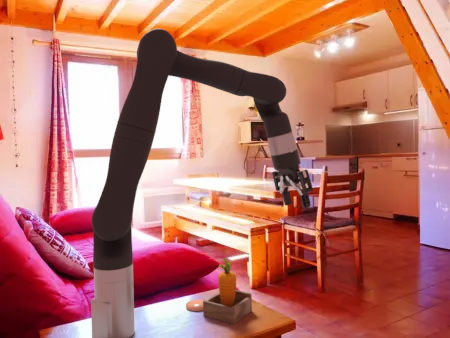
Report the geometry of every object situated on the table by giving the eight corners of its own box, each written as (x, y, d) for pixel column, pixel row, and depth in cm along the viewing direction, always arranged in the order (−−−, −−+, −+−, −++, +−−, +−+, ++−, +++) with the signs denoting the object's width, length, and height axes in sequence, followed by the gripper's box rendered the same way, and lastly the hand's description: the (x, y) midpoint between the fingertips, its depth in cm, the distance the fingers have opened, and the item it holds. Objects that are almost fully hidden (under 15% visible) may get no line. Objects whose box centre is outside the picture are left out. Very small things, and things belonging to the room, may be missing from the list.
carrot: (235, 317, 101) (234, 262, 100) (217, 316, 102) (216, 261, 101) (238, 310, 106) (237, 257, 105) (220, 309, 107) (220, 256, 106)
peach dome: (200, 313, 104) (200, 311, 104) (180, 307, 108) (180, 305, 108) (214, 304, 110) (214, 302, 110) (196, 299, 114) (196, 297, 114)
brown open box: (233, 324, 97) (232, 305, 97) (203, 315, 102) (203, 297, 102) (251, 310, 105) (251, 293, 105) (223, 303, 110) (222, 286, 110)
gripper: (259, 155, 109) (273, 208, 111) (287, 153, 97) (302, 213, 99) (279, 148, 113) (292, 199, 114) (310, 145, 100) (324, 203, 102)
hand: (297, 205), depth 107 cm, fingers open, 8 cm apart
